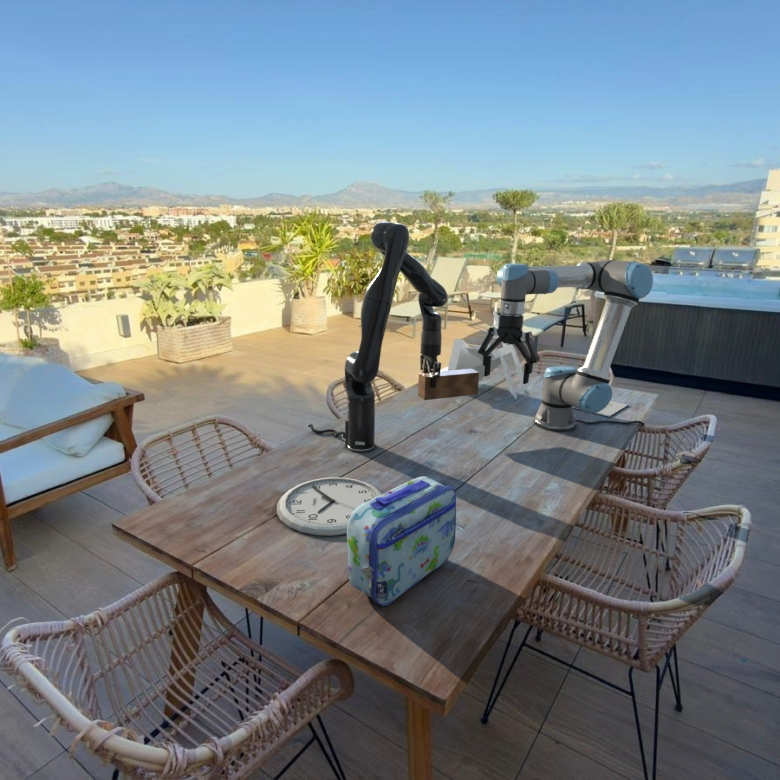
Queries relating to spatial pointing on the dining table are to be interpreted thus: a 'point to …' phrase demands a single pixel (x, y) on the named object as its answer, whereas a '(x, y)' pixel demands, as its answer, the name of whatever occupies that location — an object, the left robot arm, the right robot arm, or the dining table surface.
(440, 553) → the lunch box
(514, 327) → the right robot arm
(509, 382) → the white plastic object
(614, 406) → the invitation card
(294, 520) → the wall clock
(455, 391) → the box
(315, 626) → the dining table surface
